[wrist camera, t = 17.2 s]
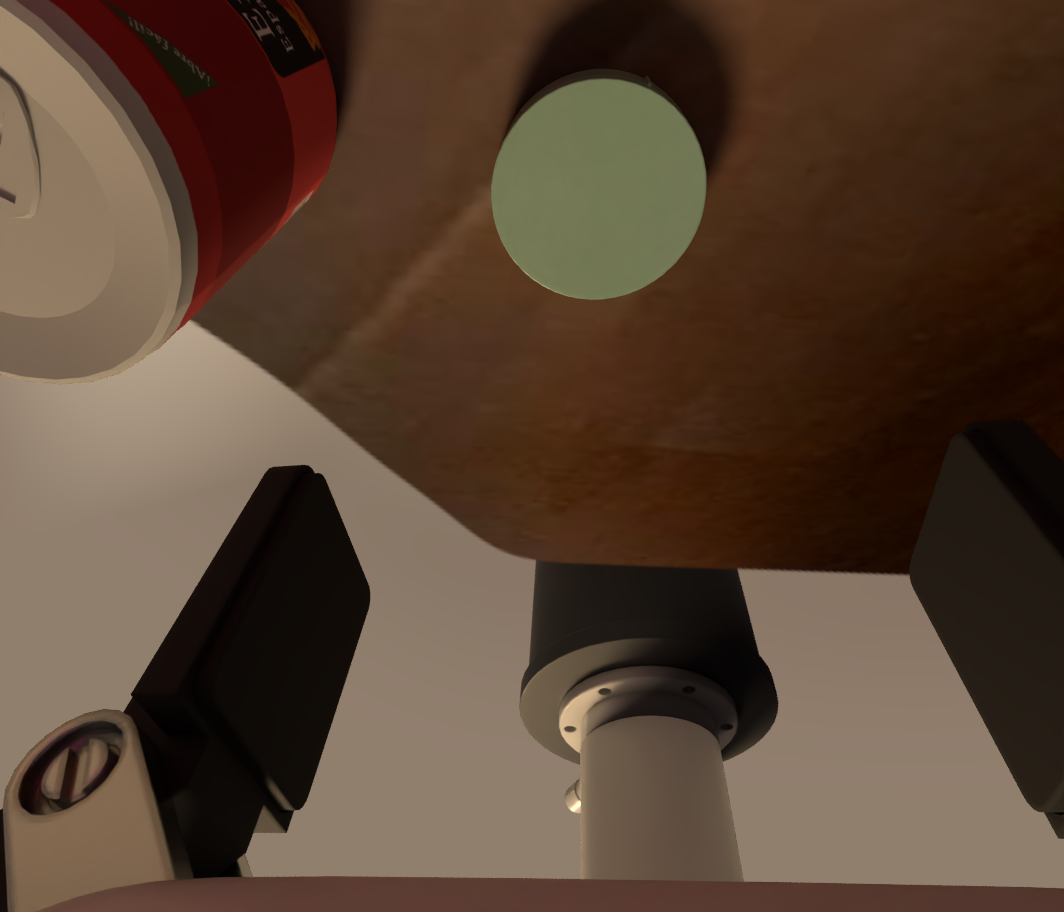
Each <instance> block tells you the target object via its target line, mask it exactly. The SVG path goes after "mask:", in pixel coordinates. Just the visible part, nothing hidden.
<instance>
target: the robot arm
mask: <svg viewBox="0 0 1064 912" xmlns="http://www.w3.org/2000/svg"><path fill="white" fill-rule="evenodd" d="M909 574H910V580H911V584H912V586H913V589H914V591H915V593H916V594H917V596H918V598H919V600H920V602H921V603H922V606H923V608H924V609H925V611H926V613H927V615H928V617H929V619H930V621H931V623H932V625H933V626H934V628H935V630H936V632H937V634H938V636H939V638H940V640H941V642H942V643H943V645H944V647H945V649H946V651H947V653H948V655H949V657H950V659H951V660H952V662H953V664H954V666H955V668H956V670H957V672H958V674H959V676H960V677H961V679H962V681H963V683H964V685H965V687H966V689H967V691H968V692H969V694H970V696H971V698H972V700H973V702H974V704H975V706H976V708H977V710H978V711H979V713H980V715H981V717H982V719H983V721H984V723H985V725H986V727H987V728H988V730H989V732H990V734H991V736H992V738H993V740H994V742H995V744H996V745H997V747H998V749H999V751H1000V753H1001V755H1002V757H1003V759H1004V761H1005V762H1006V764H1007V766H1008V768H1009V770H1010V772H1011V774H1012V775H1013V778H1014V779H1015V781H1016V783H1017V785H1018V787H1019V789H1020V791H1021V792H1022V795H1023V796H1024V798H1025V799H1026V801H1027V803H1028V804H1029V805H1030V806H1031V807H1032V808H1033V809H1035V810H1036V811H1038V812H1044V813H1045V815H1046V817H1047V818H1048V820H1049V822H1050V824H1051V826H1052V828H1053V829H1054V831H1055V833H1056V835H1057V836H1058V838H1061V839H1064V462H1063V461H1062V460H1061V459H1060V458H1059V457H1058V456H1057V455H1056V454H1055V453H1054V452H1053V451H1052V450H1051V449H1050V448H1049V447H1048V446H1047V445H1046V443H1045V442H1044V441H1043V440H1042V439H1041V438H1040V437H1039V436H1038V435H1037V434H1036V433H1035V432H1034V431H1033V430H1032V429H1031V428H1030V427H1029V426H1028V425H1027V424H1026V423H1025V422H1023V421H1022V420H1018V419H1007V420H991V421H976V422H972V423H969V424H968V425H967V426H966V427H965V429H964V431H963V433H957V434H955V435H954V436H953V437H952V438H951V441H950V443H949V446H948V449H947V452H946V455H945V458H944V461H943V464H942V467H941V470H940V473H939V476H938V479H937V482H936V485H935V488H934V492H933V495H932V498H931V501H930V504H929V507H928V510H927V513H926V516H925V519H924V522H923V525H922V528H921V531H920V534H919V537H918V540H917V543H916V546H915V549H914V552H913V555H912V558H911V561H910V566H909ZM369 604H370V589H369V585H368V582H367V580H366V578H365V575H364V572H363V570H362V567H361V565H360V563H359V560H358V558H357V555H356V553H355V550H354V548H353V545H352V543H351V541H350V538H349V536H348V533H347V531H346V528H345V526H344V523H343V521H342V519H341V516H340V514H339V511H338V509H337V507H336V504H335V501H334V499H333V497H332V494H331V492H330V490H329V487H328V484H327V482H326V480H325V478H324V476H323V475H322V474H320V473H314V471H313V469H312V468H311V467H309V466H307V465H297V466H281V467H272V468H269V469H268V471H267V472H266V473H265V474H264V476H263V478H262V479H261V481H260V483H259V484H258V486H257V488H256V489H255V491H254V493H253V494H252V496H251V498H250V499H249V501H248V502H247V504H246V506H245V507H244V509H243V511H242V512H241V514H240V515H239V517H238V519H237V520H236V522H235V524H234V525H233V527H232V529H231V530H230V532H229V534H228V535H227V537H226V539H225V540H224V542H223V543H222V545H221V547H220V549H219V550H218V552H217V554H216V555H215V557H214V558H213V560H212V562H211V563H210V565H209V567H208V568H207V570H206V571H205V573H204V575H203V576H202V578H201V580H200V582H199V583H198V585H197V586H196V588H195V590H194V591H193V593H192V595H191V596H190V598H189V600H188V601H187V603H186V605H185V606H184V608H183V609H182V611H181V613H180V614H179V616H178V618H177V619H176V621H175V623H174V624H173V626H172V628H171V629H170V631H169V633H168V634H167V636H166V637H165V639H164V641H163V642H162V644H161V646H160V647H159V649H158V651H157V652H156V654H155V655H154V657H153V659H152V661H151V662H150V664H149V666H148V667H147V669H146V670H145V672H144V674H143V675H142V677H141V679H140V680H139V682H138V683H137V685H136V687H135V688H134V690H133V692H132V693H131V696H132V699H131V701H130V702H129V704H128V705H127V707H126V709H125V710H124V712H121V711H119V710H108V709H103V710H98V711H94V712H89V713H85V714H83V715H81V716H78V717H76V718H74V719H72V720H69V721H67V722H65V723H64V724H62V725H61V726H60V727H58V728H56V729H55V730H53V731H52V732H50V733H49V734H47V735H46V736H45V737H44V738H43V739H42V740H41V741H40V742H39V743H38V744H36V745H35V746H34V747H33V748H32V749H31V750H30V751H29V752H28V753H27V755H26V756H25V757H24V759H23V760H22V761H21V762H20V764H19V765H18V766H17V768H16V769H15V770H14V773H13V774H12V776H11V779H10V781H9V783H8V785H7V787H6V790H5V796H4V802H3V809H1V810H0V912H1064V889H1061V888H1033V887H990V886H989V887H987V886H941V885H939V886H938V885H890V884H841V883H791V882H788V883H787V882H744V880H743V874H742V868H741V863H740V857H739V852H738V846H737V840H736V834H735V829H734V823H733V818H732V812H731V807H730V801H729V795H728V789H727V784H726V778H725V772H724V767H723V761H722V755H721V750H722V749H723V748H724V747H725V746H726V745H727V744H728V743H729V742H730V741H731V740H732V739H733V737H734V735H735V734H736V732H737V728H738V716H737V710H736V706H735V703H734V700H733V698H732V697H731V696H730V694H729V693H728V692H727V690H725V689H724V688H723V687H722V686H720V685H719V684H718V683H717V682H715V681H713V680H711V679H709V678H707V677H705V676H703V675H701V674H698V673H695V672H692V671H689V670H685V669H680V668H675V667H668V666H656V665H645V666H630V667H623V668H617V669H613V670H609V671H605V672H602V673H599V674H597V675H594V676H592V677H589V678H587V679H586V680H584V681H582V682H581V683H579V684H577V685H576V686H575V687H574V688H573V689H571V690H570V691H569V692H568V693H567V694H566V696H565V697H564V699H563V701H562V702H561V706H560V709H559V728H560V732H561V735H562V736H563V738H564V739H565V741H566V742H567V743H568V744H569V745H570V746H571V747H572V748H573V749H574V750H575V751H577V752H579V753H580V754H581V772H580V777H579V780H577V781H576V782H575V783H574V784H573V785H571V787H569V788H568V790H567V791H566V793H565V802H566V805H567V807H568V808H569V809H570V810H571V811H572V812H575V813H581V879H533V878H529V879H528V878H439V877H344V876H343V877H342V876H326V877H325V876H323V877H253V876H252V873H251V870H250V867H249V864H248V861H247V859H246V856H245V853H246V851H247V848H248V846H249V843H250V840H251V838H252V835H253V833H287V830H288V827H289V824H290V821H291V818H292V815H293V812H294V810H300V809H301V808H302V807H303V806H304V804H305V802H306V800H307V798H308V795H309V792H310V789H311V786H312V783H313V780H314V777H315V774H316V771H317V768H318V764H319V761H320V758H321V755H322V752H323V749H324V745H325V743H326V739H327V737H328V733H329V730H330V727H331V724H332V721H333V718H334V715H335V712H336V709H337V705H338V702H339V699H340V696H341V693H342V690H343V687H344V684H345V681H346V677H347V674H348V671H349V668H350V665H351V662H352V659H353V656H354V653H355V649H356V646H357V643H358V640H359V637H360V634H361V631H362V628H363V625H364V622H365V619H366V615H367V612H368V609H369Z"/></svg>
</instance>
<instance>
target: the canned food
mask: <svg viewBox="0 0 1064 912" xmlns="http://www.w3.org/2000/svg"><path fill="white" fill-rule="evenodd" d="M336 130H337V107H336V92H335V87H334V83H333V78H332V74H331V70H330V66H329V62H328V60H327V57H326V55H325V53H324V50H323V48H322V45H321V43H320V40H319V38H318V36H317V34H316V32H315V31H314V29H313V27H312V26H311V24H310V22H309V21H308V19H307V17H306V16H305V14H304V12H303V11H302V10H301V8H300V7H299V6H298V5H297V4H296V2H295V1H294V0H0V375H5V376H9V377H13V378H17V379H21V380H25V381H31V382H42V383H53V384H71V383H83V382H93V381H96V380H99V379H103V378H106V377H109V376H113V375H115V374H119V373H121V372H123V371H124V370H126V369H128V368H130V367H131V366H133V365H134V364H136V363H138V362H139V361H141V360H143V359H144V358H145V357H146V356H147V355H149V354H151V353H152V352H154V351H155V350H157V349H159V348H160V347H161V346H162V345H163V344H164V343H165V342H166V341H167V340H168V339H169V338H170V337H171V336H172V335H173V334H174V333H175V332H176V331H177V330H179V329H180V328H181V327H183V326H184V325H185V324H186V323H187V322H188V321H189V320H190V319H191V318H192V317H193V316H194V315H195V314H196V313H197V312H198V311H199V310H200V309H201V308H202V307H203V306H204V305H205V304H206V303H207V302H208V301H209V300H210V299H211V298H212V297H213V296H214V295H215V294H216V293H217V292H218V291H219V290H220V289H221V288H222V287H223V286H224V285H225V284H226V283H227V282H228V281H229V280H230V279H231V278H232V277H233V276H234V275H235V274H236V273H237V272H238V270H239V269H240V268H241V267H242V266H243V265H244V264H245V263H246V262H247V261H248V260H249V259H250V258H251V257H252V256H253V255H254V254H255V253H256V252H257V251H258V250H259V249H260V248H261V247H262V246H263V245H264V244H265V243H266V242H267V241H268V240H269V239H270V238H271V237H272V236H273V235H274V234H275V233H276V232H277V231H278V230H279V229H280V228H281V227H282V226H283V225H284V224H285V223H286V222H287V221H288V220H289V219H290V218H291V217H292V216H293V215H294V214H295V213H296V212H297V211H298V210H299V209H300V208H301V207H302V206H303V205H304V204H305V203H306V202H307V201H308V200H309V199H310V198H311V196H312V195H313V194H314V193H315V192H316V191H317V189H318V187H319V186H320V184H321V182H322V180H323V179H324V177H325V175H326V173H327V171H328V168H329V165H330V162H331V158H332V155H333V152H334V148H335V139H336Z"/></svg>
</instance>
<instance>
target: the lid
mask: <svg viewBox="0 0 1064 912" xmlns="http://www.w3.org/2000/svg"><path fill="white" fill-rule="evenodd" d="M706 191H707V176H706V167H705V161H704V156H703V153H702V150H701V146H700V143H699V141H698V139H697V137H696V135H695V133H694V130H693V129H692V127H691V125H690V124H689V122H688V120H687V119H686V117H685V116H684V114H683V113H682V111H681V109H680V108H679V106H678V105H677V104H676V103H675V102H674V101H673V100H672V98H671V97H670V96H669V95H668V94H666V93H665V92H664V91H663V90H662V89H661V88H659V87H658V86H657V85H655V84H653V83H652V82H651V81H650V79H649V77H648V76H645V78H642V77H640V76H638V75H635V74H633V73H629V72H625V71H621V70H614V69H589V70H584V71H580V72H575V73H572V74H569V75H567V76H564V77H561V78H559V79H557V80H556V81H554V82H552V83H550V84H548V85H547V86H545V87H544V88H543V89H541V90H540V91H539V92H537V93H536V94H535V95H534V96H533V97H532V98H531V99H530V100H529V101H528V102H527V103H525V105H524V106H523V107H522V108H521V110H520V111H519V112H518V113H517V115H516V116H515V118H514V120H513V121H512V123H511V125H510V126H509V128H508V130H507V132H506V135H505V137H504V139H503V142H502V144H501V147H500V150H499V153H498V156H497V159H496V163H495V166H494V170H493V177H492V183H491V202H492V212H493V216H494V221H495V225H496V228H497V231H498V233H499V236H500V239H501V241H502V243H503V244H504V246H505V248H506V250H507V252H508V253H509V255H510V256H511V257H512V259H513V260H514V262H515V263H516V264H517V265H518V266H519V267H520V268H521V269H522V270H523V271H524V272H525V273H526V274H527V275H528V276H529V277H531V278H532V279H533V280H535V281H536V282H538V283H539V284H541V285H542V286H544V287H546V288H548V289H550V290H552V291H554V292H557V293H560V294H563V295H565V296H570V297H574V298H580V299H607V298H614V297H618V296H622V295H626V294H629V293H631V292H634V291H636V290H639V289H641V288H643V287H645V286H646V285H648V284H650V283H652V282H653V281H655V280H656V279H658V278H659V277H660V276H662V275H663V274H664V273H665V272H666V271H668V270H669V269H670V268H671V267H672V266H673V265H674V264H675V263H676V262H677V260H678V259H679V258H680V257H681V256H682V255H683V253H684V252H685V250H686V249H687V247H688V246H689V244H690V243H691V241H692V239H693V237H694V235H695V233H696V231H697V229H698V226H699V223H700V221H701V218H702V214H703V210H704V206H705V200H706Z"/></svg>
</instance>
